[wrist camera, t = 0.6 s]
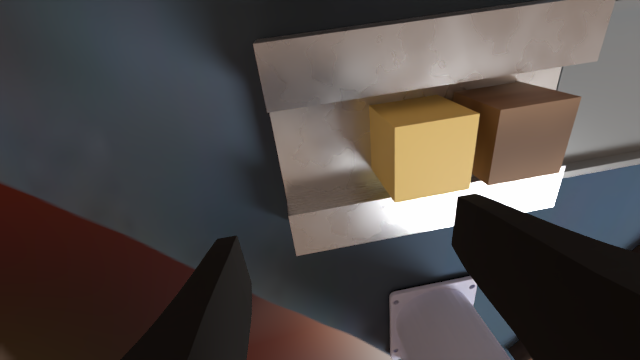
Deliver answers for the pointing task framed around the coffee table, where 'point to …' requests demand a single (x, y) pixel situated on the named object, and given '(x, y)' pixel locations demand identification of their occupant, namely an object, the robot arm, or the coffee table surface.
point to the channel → (401, 84)
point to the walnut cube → (519, 130)
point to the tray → (607, 99)
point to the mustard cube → (422, 146)
